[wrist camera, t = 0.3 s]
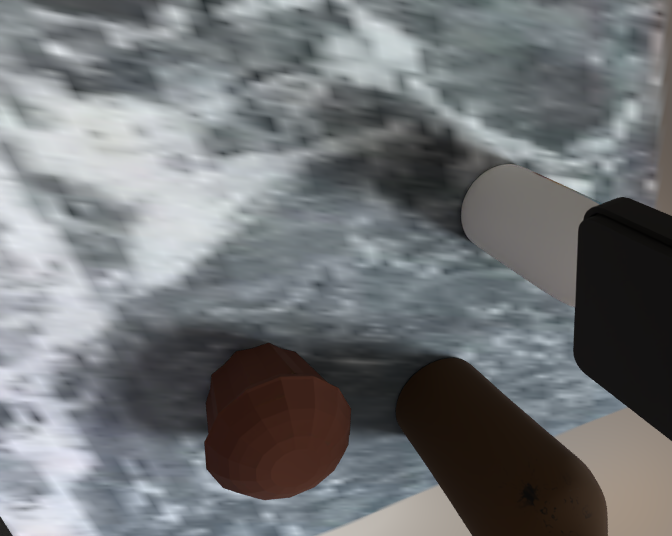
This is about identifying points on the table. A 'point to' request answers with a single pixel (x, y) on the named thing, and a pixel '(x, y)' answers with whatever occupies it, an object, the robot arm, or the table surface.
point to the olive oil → (496, 457)
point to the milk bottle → (528, 226)
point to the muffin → (273, 424)
